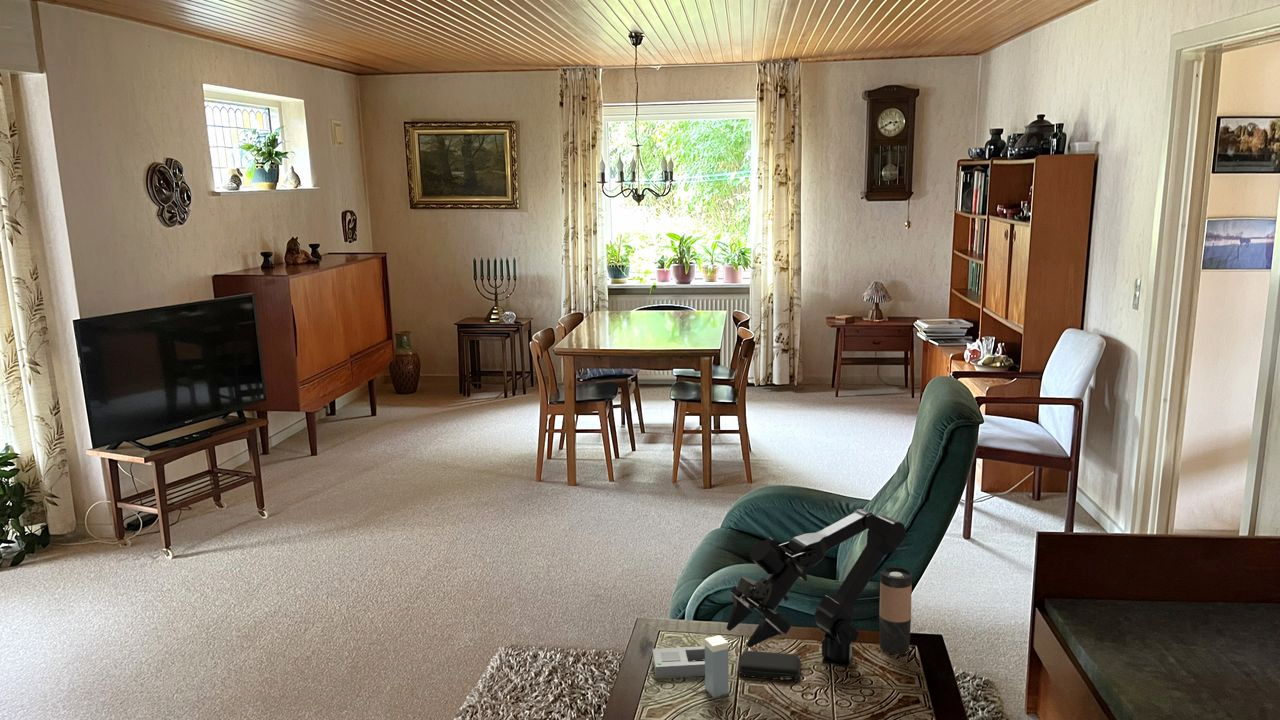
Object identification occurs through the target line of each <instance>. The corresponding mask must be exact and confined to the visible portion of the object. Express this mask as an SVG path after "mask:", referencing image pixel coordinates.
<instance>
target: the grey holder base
mask: <svg viewBox="0 0 1280 720" xmlns="http://www.w3.org/2000/svg"><path fill="white" fill-rule="evenodd" d="M702 659H705V645H703V646H701V645H700V646H683V647H682V646H681V647H665V648H664V647H663V648H652V663H653V668H654V669H653V670H654V675H655V679H660V680H661V679H675V678H692V677H705V676H704V675H705V660H703V661H693V660H702Z"/></svg>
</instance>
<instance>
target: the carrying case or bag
mask: <svg viewBox="0 0 1280 720" xmlns="http://www.w3.org/2000/svg"><path fill="white" fill-rule="evenodd" d="M737 666H738V667H737V670H738V672H739V673H740V674H741V676H743V675H745V676H744V677H747V676H754V677H753V678H758V677H764V678H763V679H769V678H778V679H777V680H779V681H795V680H797V679H798V678H799V677H800V676H801V667H802V662H801V658H800V657H798V656H797V655H796V654H793V653H782V652H781V653H780V652H772V651H771V652H770V651H769V652H767V651H756V650H755V651H754V650H746V651H743V653H742V654H740V657H739V661H738V665H737ZM765 677H766V678H765Z"/></svg>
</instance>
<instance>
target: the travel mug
mask: <svg viewBox="0 0 1280 720" xmlns="http://www.w3.org/2000/svg"><path fill="white" fill-rule="evenodd" d="M912 576H913V575H912V572H911V571H910V570H908V569H906V568H902V567H896V566H895V567H893V566H891V567H890V566H889V567H886V568H885V569H884V570H882V571H880V581H879V582H880V585H879V586H880V588H879V613H878V614H879V647H880V649H881V651H883V652H884V651H886V652H885V653H887V654H890V653H891V654H890V655H896V654H900V655H904V654H903V653H905V654H907V653H908V652H909V651H910V642H911V626H912V623H911V622H912V594H913V593H912V581H913V579H912V578H913V577H912ZM908 650H909V651H908ZM907 651H908V652H907ZM906 652H907V653H906Z"/></svg>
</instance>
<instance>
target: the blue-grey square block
mask: <svg viewBox="0 0 1280 720" xmlns="http://www.w3.org/2000/svg"><path fill="white" fill-rule="evenodd" d="M704 646H705V660H704V661H705V676H704V689H705V691H706V692H707V693H708V694H710V696H712V698H717V697H720V696H723V694H724V695H728V694H730V688H729V686H730V685H729V681H730V680H729V678H730V677H729V673H730V671H729V670H730V669H729V661H730V660H729V659H730V658H729V641H728V640H726V639H725V638H724V637H723V636H722V635H719V634H718V635H715V636H709V637H706V638H704Z"/></svg>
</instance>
